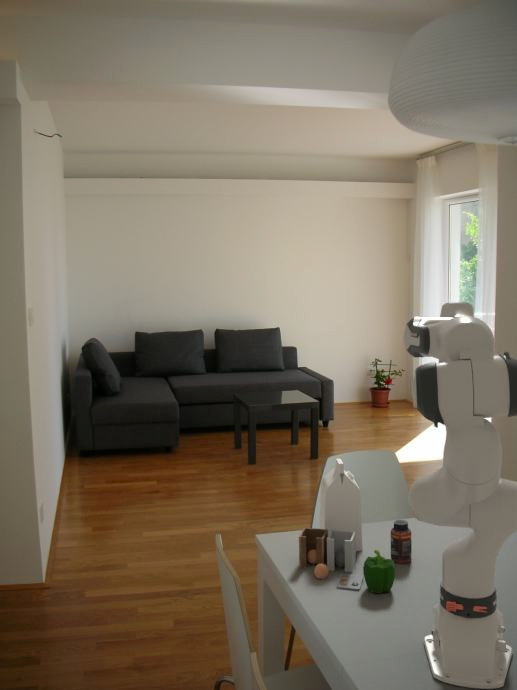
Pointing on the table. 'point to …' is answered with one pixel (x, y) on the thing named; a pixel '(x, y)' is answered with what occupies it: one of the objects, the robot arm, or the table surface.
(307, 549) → the walnut tube
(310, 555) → the tube ball terracotta
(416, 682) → the table surface
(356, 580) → the card
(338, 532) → the grey tube
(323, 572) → the loose ball
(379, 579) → the bell pepper
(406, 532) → the supplement bottle
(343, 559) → the tube ball charcoal
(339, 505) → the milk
